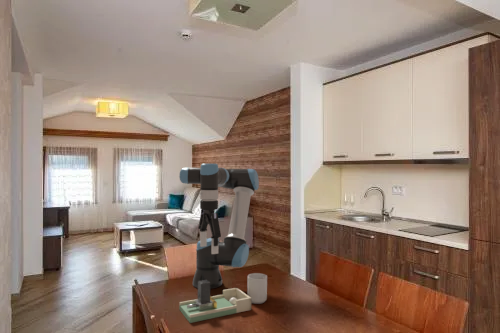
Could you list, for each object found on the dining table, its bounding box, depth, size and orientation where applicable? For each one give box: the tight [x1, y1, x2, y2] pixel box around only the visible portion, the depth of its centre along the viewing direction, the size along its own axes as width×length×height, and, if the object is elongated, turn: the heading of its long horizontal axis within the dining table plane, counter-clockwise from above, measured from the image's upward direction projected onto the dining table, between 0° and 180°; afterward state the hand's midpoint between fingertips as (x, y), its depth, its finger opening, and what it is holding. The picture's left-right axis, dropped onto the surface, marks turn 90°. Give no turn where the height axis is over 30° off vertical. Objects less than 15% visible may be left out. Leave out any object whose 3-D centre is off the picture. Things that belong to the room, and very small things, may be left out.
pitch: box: [178, 287, 252, 324], centre depth 142 cm, size 14×27×5 cm, turn 118°
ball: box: [229, 297, 237, 306], centre depth 146 cm, size 4×4×4 cm
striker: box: [187, 280, 217, 311], centre depth 139 cm, size 8×11×10 cm
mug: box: [246, 272, 268, 305], centre depth 154 cm, size 12×9×11 cm
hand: (208, 249), depth 142 cm, fingers open, 13 cm apart
